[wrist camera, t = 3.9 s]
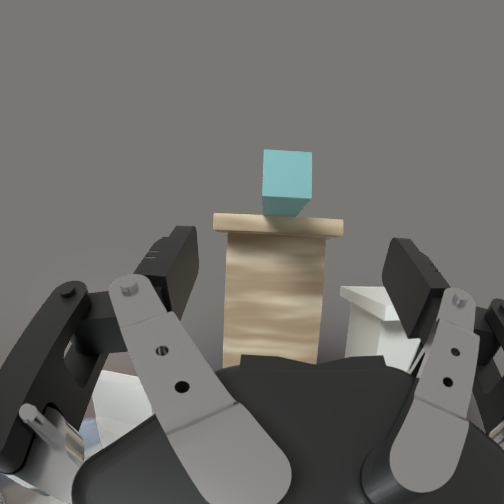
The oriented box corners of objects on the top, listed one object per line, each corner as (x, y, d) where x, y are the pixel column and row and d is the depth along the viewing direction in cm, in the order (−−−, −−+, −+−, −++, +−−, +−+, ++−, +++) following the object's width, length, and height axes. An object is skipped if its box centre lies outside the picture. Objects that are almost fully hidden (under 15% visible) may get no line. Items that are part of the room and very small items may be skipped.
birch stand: (308, 487, 26) (343, 219, 26) (210, 483, 26) (214, 213, 26) (296, 418, 44) (312, 233, 44) (227, 415, 44) (234, 229, 44)
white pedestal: (424, 467, 25) (471, 303, 25) (346, 483, 26) (386, 305, 26) (384, 412, 43) (406, 287, 43) (323, 418, 44) (340, 286, 44)
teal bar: (311, 198, 17) (311, 152, 17) (262, 195, 17) (264, 149, 17) (284, 229, 41) (285, 209, 41) (263, 228, 41) (264, 208, 41)
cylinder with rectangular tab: (169, 438, 35) (164, 371, 36) (154, 474, 26) (143, 401, 27) (116, 427, 35) (106, 361, 35) (93, 457, 26) (75, 385, 26)
